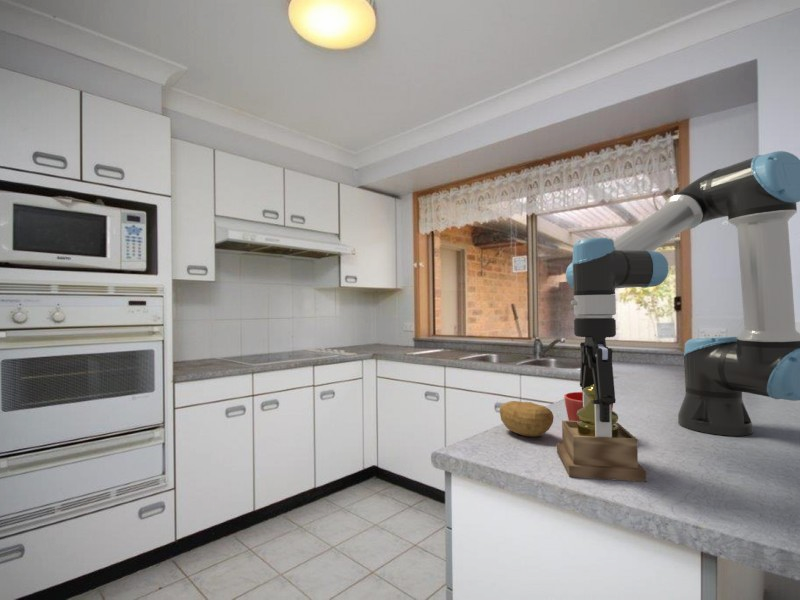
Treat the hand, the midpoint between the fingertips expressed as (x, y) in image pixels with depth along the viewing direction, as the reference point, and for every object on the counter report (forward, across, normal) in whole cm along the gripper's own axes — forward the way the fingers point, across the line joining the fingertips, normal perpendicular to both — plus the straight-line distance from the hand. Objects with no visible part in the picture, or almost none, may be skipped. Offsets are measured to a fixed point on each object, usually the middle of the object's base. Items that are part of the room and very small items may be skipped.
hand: (596, 430), depth 81 cm
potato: (+7, -18, -12) cm, 23 cm away
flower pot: (+7, -19, +3) cm, 20 cm away
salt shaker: (+1, 0, 0) cm, 1 cm away
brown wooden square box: (+7, 0, 0) cm, 7 cm away
